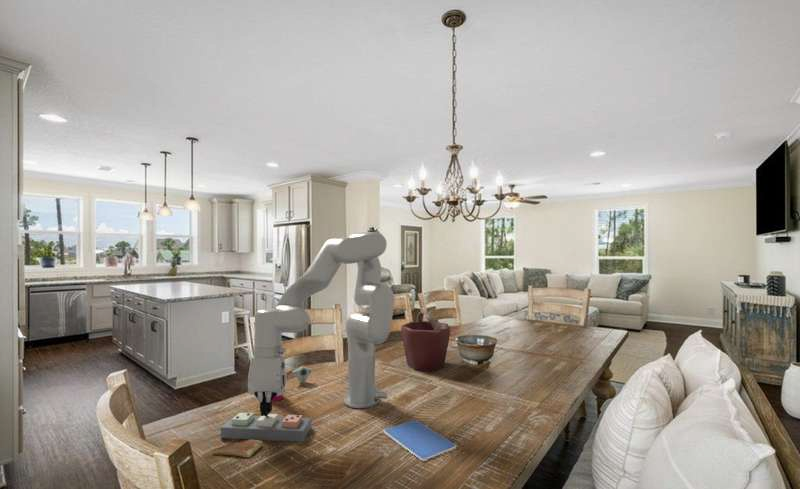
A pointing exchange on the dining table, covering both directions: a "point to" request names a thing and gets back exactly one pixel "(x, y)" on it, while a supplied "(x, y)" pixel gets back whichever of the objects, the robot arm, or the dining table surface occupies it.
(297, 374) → the pig figurine
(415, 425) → the tablet computer
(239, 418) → the key two pips
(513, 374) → the dining table surface
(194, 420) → the dining table surface
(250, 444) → the shard
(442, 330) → the bucket
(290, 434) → the key panel
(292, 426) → the key three pips
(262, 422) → the key one pip
